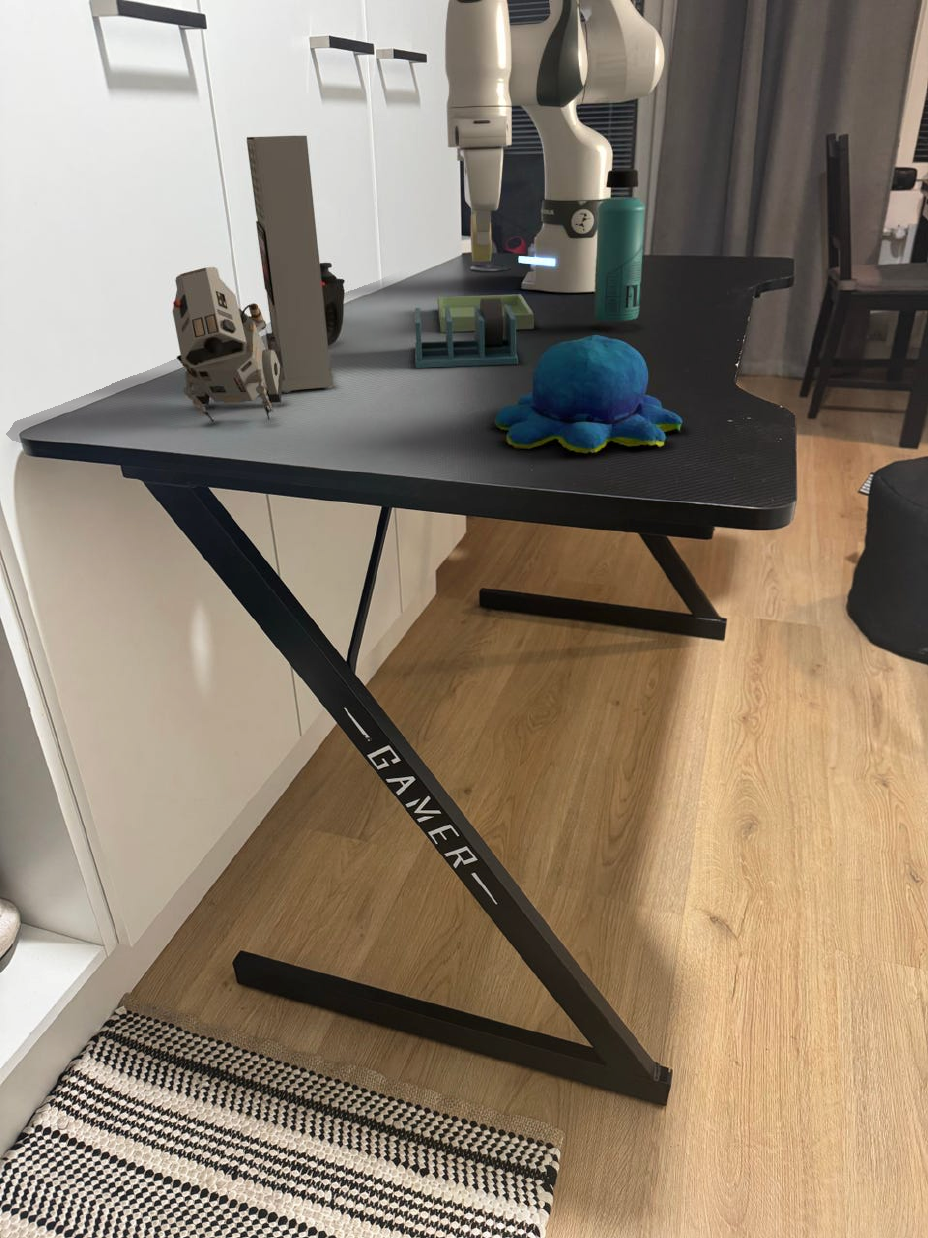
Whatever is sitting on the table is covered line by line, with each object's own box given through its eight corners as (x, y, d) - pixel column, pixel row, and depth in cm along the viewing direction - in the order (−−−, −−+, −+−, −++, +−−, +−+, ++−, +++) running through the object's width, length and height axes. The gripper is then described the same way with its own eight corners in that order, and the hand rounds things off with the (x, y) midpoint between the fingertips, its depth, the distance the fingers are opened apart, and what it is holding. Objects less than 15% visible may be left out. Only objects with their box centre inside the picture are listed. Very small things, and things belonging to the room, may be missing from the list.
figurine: (193, 451, 92) (143, 352, 78) (203, 363, 96) (158, 256, 83) (280, 449, 92) (246, 349, 78) (287, 361, 96) (255, 253, 83)
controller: (353, 337, 124) (347, 260, 119) (315, 357, 113) (306, 274, 108) (325, 336, 125) (318, 260, 120) (284, 355, 114) (274, 274, 110)
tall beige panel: (269, 366, 110) (238, 137, 97) (318, 362, 111) (294, 135, 99) (278, 394, 98) (244, 137, 86) (333, 388, 99) (308, 135, 87)
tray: (438, 310, 140) (437, 297, 139) (520, 307, 140) (520, 294, 140) (440, 332, 125) (440, 317, 124) (533, 328, 125) (533, 314, 125)
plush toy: (645, 467, 74) (653, 366, 70) (467, 442, 81) (464, 349, 77) (699, 414, 87) (708, 326, 83) (541, 396, 94) (542, 315, 90)
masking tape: (471, 257, 132) (470, 210, 128) (488, 257, 132) (487, 210, 128) (473, 265, 126) (472, 216, 123) (491, 264, 126) (491, 215, 123)
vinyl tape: (480, 345, 114) (479, 296, 111) (499, 344, 114) (498, 295, 112) (484, 352, 109) (483, 300, 106) (503, 351, 109) (503, 300, 106)
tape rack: (415, 348, 116) (413, 307, 114) (509, 344, 117) (509, 303, 114) (415, 368, 107) (413, 323, 104) (517, 364, 107) (518, 319, 105)
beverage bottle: (625, 334, 121) (634, 169, 111) (582, 329, 124) (588, 169, 114) (647, 325, 125) (658, 167, 115) (605, 321, 129) (613, 167, 119)
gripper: (453, 133, 130) (456, 235, 136) (459, 132, 112) (462, 249, 118) (496, 132, 130) (497, 234, 137) (509, 130, 112) (509, 248, 119)
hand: (481, 241), depth 127 cm, fingers closed on masking tape, 6 cm apart
